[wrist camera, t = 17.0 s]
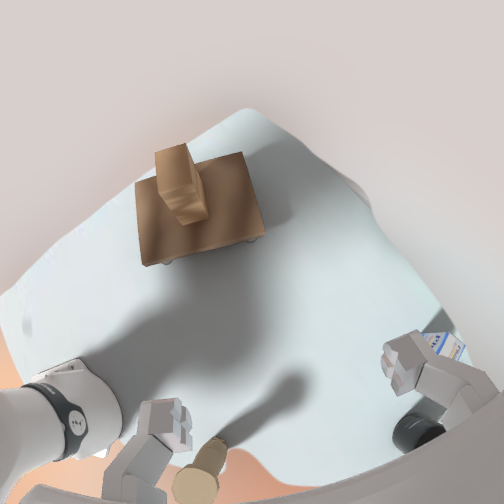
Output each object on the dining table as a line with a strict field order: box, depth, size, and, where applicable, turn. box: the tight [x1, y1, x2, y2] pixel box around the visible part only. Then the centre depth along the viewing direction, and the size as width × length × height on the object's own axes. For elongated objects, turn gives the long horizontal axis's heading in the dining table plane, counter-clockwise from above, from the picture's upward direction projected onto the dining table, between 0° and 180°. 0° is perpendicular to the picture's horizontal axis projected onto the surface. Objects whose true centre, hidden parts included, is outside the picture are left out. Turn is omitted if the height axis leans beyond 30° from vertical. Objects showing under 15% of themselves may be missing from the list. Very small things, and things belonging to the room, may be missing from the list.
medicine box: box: [421, 332, 466, 361], centre depth 33 cm, size 8×4×9 cm, turn 142°
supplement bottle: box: [392, 414, 447, 454], centre depth 28 cm, size 7×7×12 cm
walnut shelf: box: [135, 152, 266, 267], centre depth 43 cm, size 18×14×6 cm
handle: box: [172, 437, 227, 504], centre depth 28 cm, size 5×6×15 cm
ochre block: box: [155, 143, 210, 226], centre depth 36 cm, size 4×6×10 cm, turn 14°
